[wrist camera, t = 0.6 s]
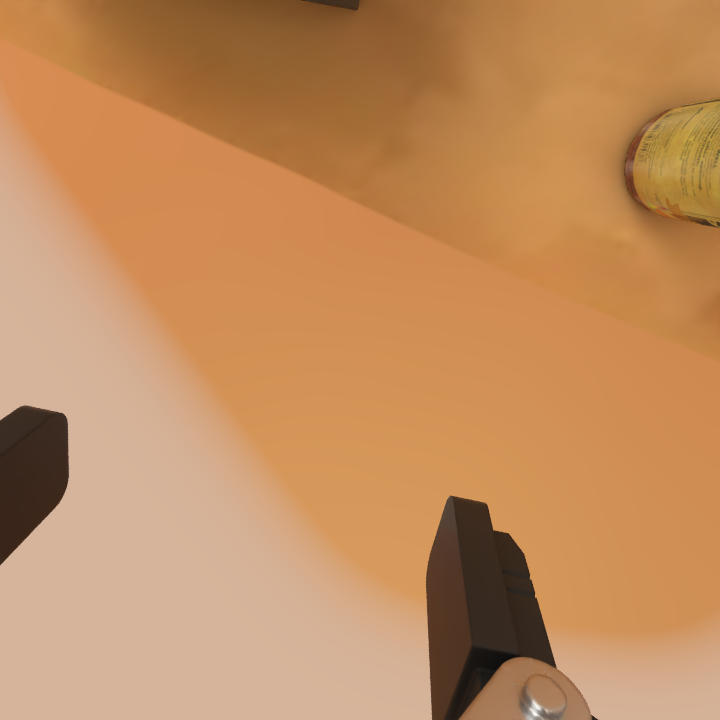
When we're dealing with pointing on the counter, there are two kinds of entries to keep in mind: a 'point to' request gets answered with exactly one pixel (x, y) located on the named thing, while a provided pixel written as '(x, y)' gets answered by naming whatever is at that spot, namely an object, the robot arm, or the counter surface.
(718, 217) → the sauce bottle
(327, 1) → the cabinet
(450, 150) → the counter surface
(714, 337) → the counter surface
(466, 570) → the robot arm
